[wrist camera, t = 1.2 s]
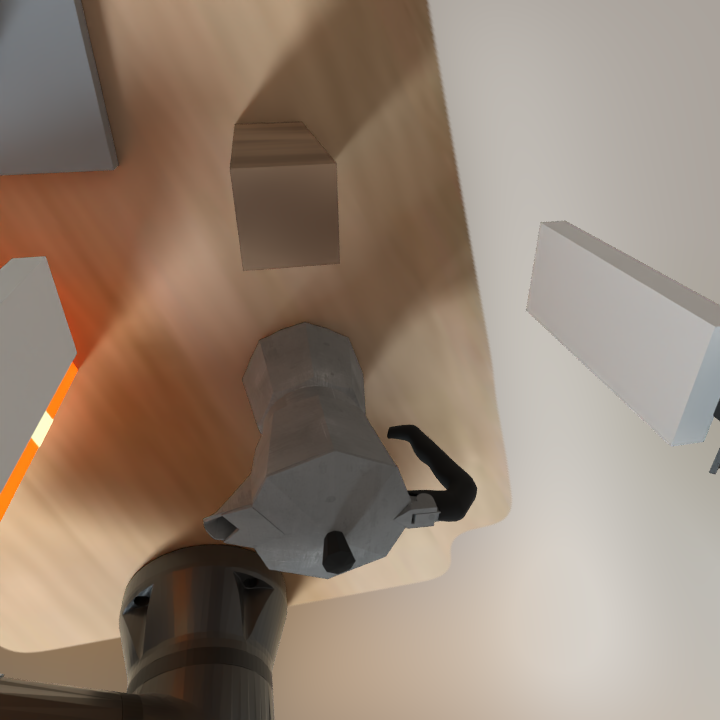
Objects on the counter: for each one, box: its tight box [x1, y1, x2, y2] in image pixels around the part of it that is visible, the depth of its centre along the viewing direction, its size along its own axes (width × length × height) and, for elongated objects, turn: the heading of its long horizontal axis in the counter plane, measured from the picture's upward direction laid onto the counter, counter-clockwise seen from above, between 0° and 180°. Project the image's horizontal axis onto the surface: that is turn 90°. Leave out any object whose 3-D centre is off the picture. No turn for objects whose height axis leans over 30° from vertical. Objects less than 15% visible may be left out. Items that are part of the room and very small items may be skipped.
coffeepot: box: [203, 322, 477, 579], centre depth 34 cm, size 15×9×18 cm, turn 85°
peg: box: [230, 122, 340, 271], centre depth 27 cm, size 4×4×14 cm
